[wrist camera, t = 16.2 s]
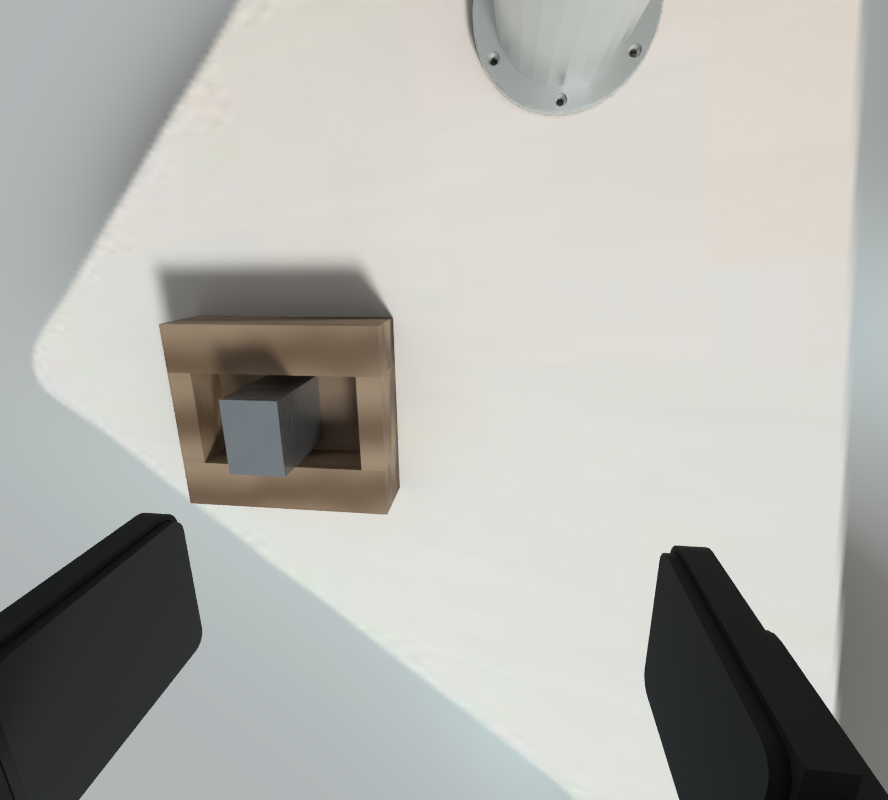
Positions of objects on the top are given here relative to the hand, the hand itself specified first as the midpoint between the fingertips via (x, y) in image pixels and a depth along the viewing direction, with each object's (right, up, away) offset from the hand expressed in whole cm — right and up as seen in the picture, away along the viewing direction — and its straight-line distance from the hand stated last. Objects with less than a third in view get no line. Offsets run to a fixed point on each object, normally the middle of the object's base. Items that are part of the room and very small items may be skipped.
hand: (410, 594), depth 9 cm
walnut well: (-13, +3, +36) cm, 38 cm away
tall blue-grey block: (-13, +3, +35) cm, 37 cm away
